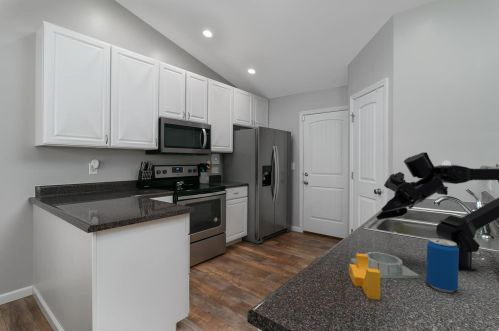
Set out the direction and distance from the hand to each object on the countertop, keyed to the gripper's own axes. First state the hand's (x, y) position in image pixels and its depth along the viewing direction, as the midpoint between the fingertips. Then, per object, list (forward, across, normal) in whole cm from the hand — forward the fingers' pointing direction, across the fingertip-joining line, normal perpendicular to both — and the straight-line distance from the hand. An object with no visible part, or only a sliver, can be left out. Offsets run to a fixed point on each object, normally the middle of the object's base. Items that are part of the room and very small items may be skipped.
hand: (379, 214), depth 77 cm
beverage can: (+1, +2, +23) cm, 23 cm away
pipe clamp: (+18, +8, +14) cm, 25 cm away
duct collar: (+9, -4, +13) cm, 16 cm away
